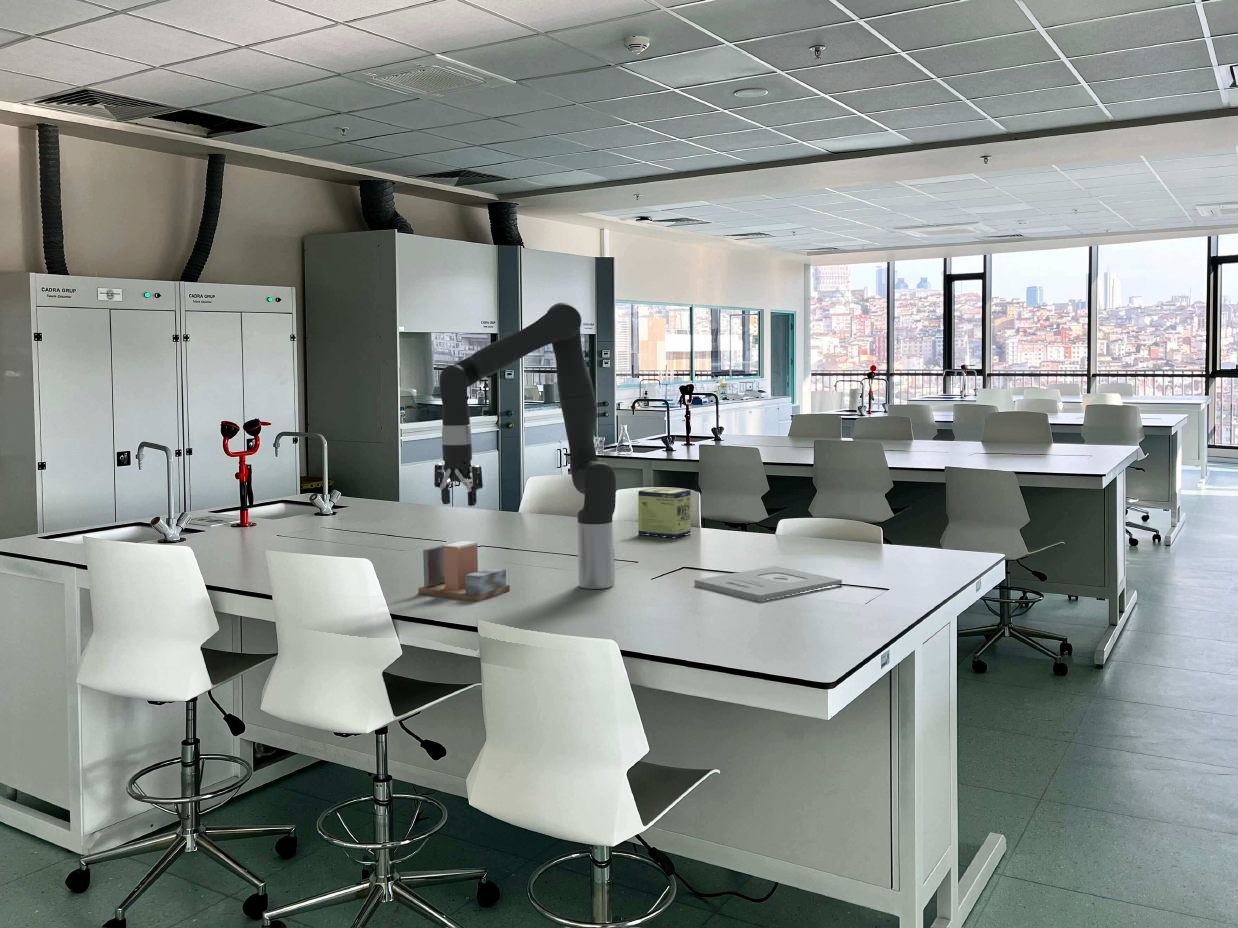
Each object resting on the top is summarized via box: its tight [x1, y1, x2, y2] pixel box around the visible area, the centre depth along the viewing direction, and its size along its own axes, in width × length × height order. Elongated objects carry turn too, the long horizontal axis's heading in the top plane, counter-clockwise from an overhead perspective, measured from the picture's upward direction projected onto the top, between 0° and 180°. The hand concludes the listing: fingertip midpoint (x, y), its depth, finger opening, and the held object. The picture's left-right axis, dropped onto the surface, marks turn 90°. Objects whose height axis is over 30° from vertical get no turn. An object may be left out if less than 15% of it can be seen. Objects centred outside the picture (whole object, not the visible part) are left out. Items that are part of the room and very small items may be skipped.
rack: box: [417, 567, 511, 602], centre depth 271 cm, size 14×19×6 cm
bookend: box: [422, 543, 449, 586], centre depth 275 cm, size 11×2×10 cm, turn 149°
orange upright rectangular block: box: [443, 540, 479, 590], centre depth 271 cm, size 8×5×11 cm, turn 148°
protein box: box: [637, 487, 692, 539], centre depth 360 cm, size 10×16×16 cm
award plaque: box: [694, 565, 843, 602], centre depth 275 cm, size 25×30×2 cm
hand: (459, 504), depth 270 cm, fingers open, 8 cm apart
